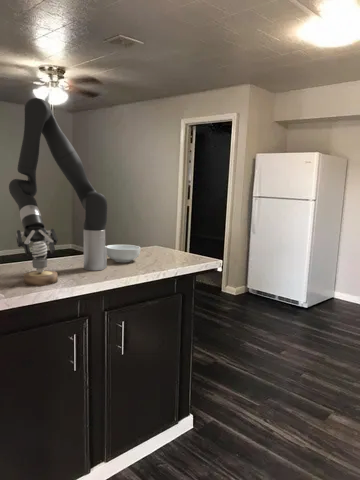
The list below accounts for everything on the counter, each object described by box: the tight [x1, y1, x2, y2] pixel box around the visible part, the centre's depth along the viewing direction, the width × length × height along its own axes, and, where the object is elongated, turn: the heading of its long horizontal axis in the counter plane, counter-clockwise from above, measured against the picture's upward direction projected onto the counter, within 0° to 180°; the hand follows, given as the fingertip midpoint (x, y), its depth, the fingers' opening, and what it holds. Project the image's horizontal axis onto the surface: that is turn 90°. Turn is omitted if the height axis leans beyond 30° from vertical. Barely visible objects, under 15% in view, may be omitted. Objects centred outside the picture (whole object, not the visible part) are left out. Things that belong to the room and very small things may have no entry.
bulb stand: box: [22, 270, 58, 287], centre depth 147 cm, size 12×12×3 cm
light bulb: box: [30, 241, 48, 273], centre depth 146 cm, size 6×6×12 cm
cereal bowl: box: [105, 244, 141, 263], centre depth 190 cm, size 17×17×7 cm
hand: (41, 253), depth 145 cm, fingers open, 8 cm apart
